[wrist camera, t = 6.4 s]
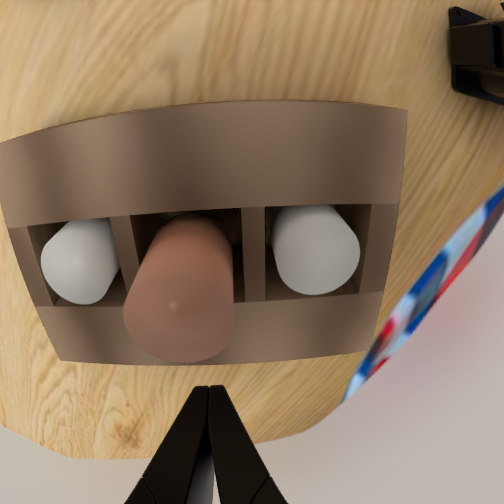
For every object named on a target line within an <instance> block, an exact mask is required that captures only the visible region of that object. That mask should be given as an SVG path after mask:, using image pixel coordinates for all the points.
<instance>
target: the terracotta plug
mask: <svg viewBox="0 0 504 504" xmlns="http://www.w3.org/2000/svg"><path fill="white" fill-rule="evenodd" d="M123 320H124V324H125V327H126V329H127V331H128V333H129V335H130V336H131V338H132V339H133V340H134V341H135V342H136V343H137V344H138V345H139V346H140V347H141V348H142V349H144V350H145V351H147V352H148V353H150V354H152V355H154V356H156V357H158V358H161V359H164V360H168V361H172V362H181V363H189V362H197V361H202V360H205V359H208V358H210V357H212V356H214V355H216V354H218V353H219V352H220V351H222V350H223V349H224V348H225V347H226V345H227V344H228V343H229V341H230V339H231V337H232V335H233V331H234V299H233V254H232V244H231V240H230V238H229V236H228V234H227V232H226V231H225V230H224V228H223V227H222V226H221V225H220V224H219V223H217V222H216V221H214V220H213V219H211V218H209V217H206V216H204V215H200V214H181V215H177V216H175V217H172V218H171V219H169V220H167V221H166V222H165V223H163V224H162V225H161V226H160V228H159V229H158V231H157V232H156V234H155V236H154V238H153V240H152V243H151V245H150V247H149V249H148V251H147V253H146V255H145V257H144V260H143V262H142V264H141V266H140V268H139V271H138V273H137V275H136V277H135V279H134V282H133V284H132V286H131V289H130V291H129V293H128V295H127V298H126V300H125V303H124V307H123Z"/></svg>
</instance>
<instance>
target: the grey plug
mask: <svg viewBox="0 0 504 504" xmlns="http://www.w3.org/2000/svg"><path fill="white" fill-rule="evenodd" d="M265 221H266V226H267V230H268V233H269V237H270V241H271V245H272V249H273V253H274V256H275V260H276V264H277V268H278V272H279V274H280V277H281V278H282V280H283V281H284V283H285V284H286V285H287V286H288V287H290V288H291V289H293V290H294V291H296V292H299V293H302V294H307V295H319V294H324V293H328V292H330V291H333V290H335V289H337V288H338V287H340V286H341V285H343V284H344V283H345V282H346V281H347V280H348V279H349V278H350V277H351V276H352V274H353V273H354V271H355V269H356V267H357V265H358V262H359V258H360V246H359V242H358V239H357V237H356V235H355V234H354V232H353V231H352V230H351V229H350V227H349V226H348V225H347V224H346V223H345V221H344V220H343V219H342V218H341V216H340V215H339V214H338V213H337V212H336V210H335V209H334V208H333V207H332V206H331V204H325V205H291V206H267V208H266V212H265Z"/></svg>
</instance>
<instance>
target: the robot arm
mask: <svg viewBox="0 0 504 504" xmlns="http://www.w3.org/2000/svg"><path fill="white" fill-rule="evenodd" d="M500 4H501V6H502V8H503V10H504V2H501V3H500ZM455 11H456V12H457V14H458V15H457V14H456V12H455ZM449 13H450V25H451V42H452V86H453V89H454V90H455V92H457V93H461V94H465V95H469V96H473V97H476V98H480V99H483V100H487V101H490V102H493V103H496V104H500V105H503V106H504V18H499V19H489V20H488V19H485V18H483V17H481V16H479V15H477V14H474V13H472V12H470V11H467V10H465V9H462V8H460V7H457V6H454V7H451V8H450V9H449ZM459 84H460V89H459V86H458V85H459ZM214 472H215V475H216V481H217V487H218V492H219V498H220V503H221V504H288V503H287V501H286V500H285V499H284V497H283V495H282V494H281V492H280V491H279V489H278V487H277V486H276V484H275V482H274V480H273V479H272V477H270V474H269V472H268V470H267V468H266V466H265V465H264V463H263V461H262V459H261V457H260V456H259V454H258V452H257V450H256V448H255V446H254V444H253V442H252V440H251V439H250V437H249V435H248V433H247V431H246V429H245V427H244V425H243V423H242V421H241V419H240V417H239V415H238V413H237V411H236V409H235V407H234V405H233V403H232V401H231V399H230V397H229V395H228V393H227V391H226V389H225V387H224V386H223V385H212V386H210V387H209V386H195V387H194V388H193V390H192V392H191V393H190V395H189V397H188V398H187V400H186V402H185V404H184V405H183V407H182V409H181V410H180V412H179V414H178V416H177V417H176V419H175V421H174V422H173V424H172V426H171V428H170V429H169V431H168V433H167V434H166V436H165V438H164V439H163V441H162V443H161V444H160V446H159V448H158V450H157V451H156V453H155V455H154V456H153V458H152V460H151V462H150V463H149V465H148V466H147V468H146V470H145V471H144V473H143V475H142V477H143V478H140V480H139V481H138V483H137V485H136V486H135V488H134V489H133V491H132V492H131V494H130V496H129V497H128V499H127V500H126V502H125V503H124V504H212V499H213V486H214Z"/></svg>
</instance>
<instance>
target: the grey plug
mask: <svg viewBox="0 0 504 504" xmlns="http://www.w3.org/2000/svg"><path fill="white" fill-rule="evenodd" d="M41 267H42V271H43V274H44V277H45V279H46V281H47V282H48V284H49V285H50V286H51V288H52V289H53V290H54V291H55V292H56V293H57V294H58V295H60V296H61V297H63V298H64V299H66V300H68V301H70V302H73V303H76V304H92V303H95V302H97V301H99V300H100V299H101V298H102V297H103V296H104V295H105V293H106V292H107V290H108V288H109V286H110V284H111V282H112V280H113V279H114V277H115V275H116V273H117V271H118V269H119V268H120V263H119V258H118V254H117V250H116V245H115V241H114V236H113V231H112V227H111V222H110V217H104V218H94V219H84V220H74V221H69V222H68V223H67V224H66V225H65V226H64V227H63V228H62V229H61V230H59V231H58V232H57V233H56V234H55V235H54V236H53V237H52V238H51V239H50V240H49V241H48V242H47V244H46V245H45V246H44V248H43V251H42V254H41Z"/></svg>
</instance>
